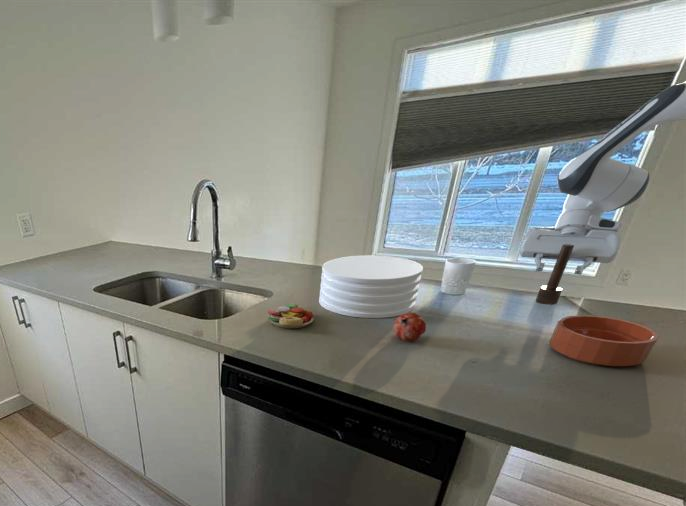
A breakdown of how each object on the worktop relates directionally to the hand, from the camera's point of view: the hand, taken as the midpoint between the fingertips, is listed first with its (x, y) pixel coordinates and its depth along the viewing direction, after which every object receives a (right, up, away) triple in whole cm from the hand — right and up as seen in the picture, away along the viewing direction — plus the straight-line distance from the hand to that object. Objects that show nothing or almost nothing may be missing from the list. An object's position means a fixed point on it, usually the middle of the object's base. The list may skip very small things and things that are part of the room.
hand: (558, 271), depth 113 cm
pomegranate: (-48, -20, -9) cm, 52 cm away
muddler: (+1, -7, +5) cm, 9 cm away
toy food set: (-73, -13, +8) cm, 75 cm away
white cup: (-17, -2, +18) cm, 25 cm away
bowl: (-13, -25, -22) cm, 36 cm away
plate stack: (-47, -5, +16) cm, 50 cm away
